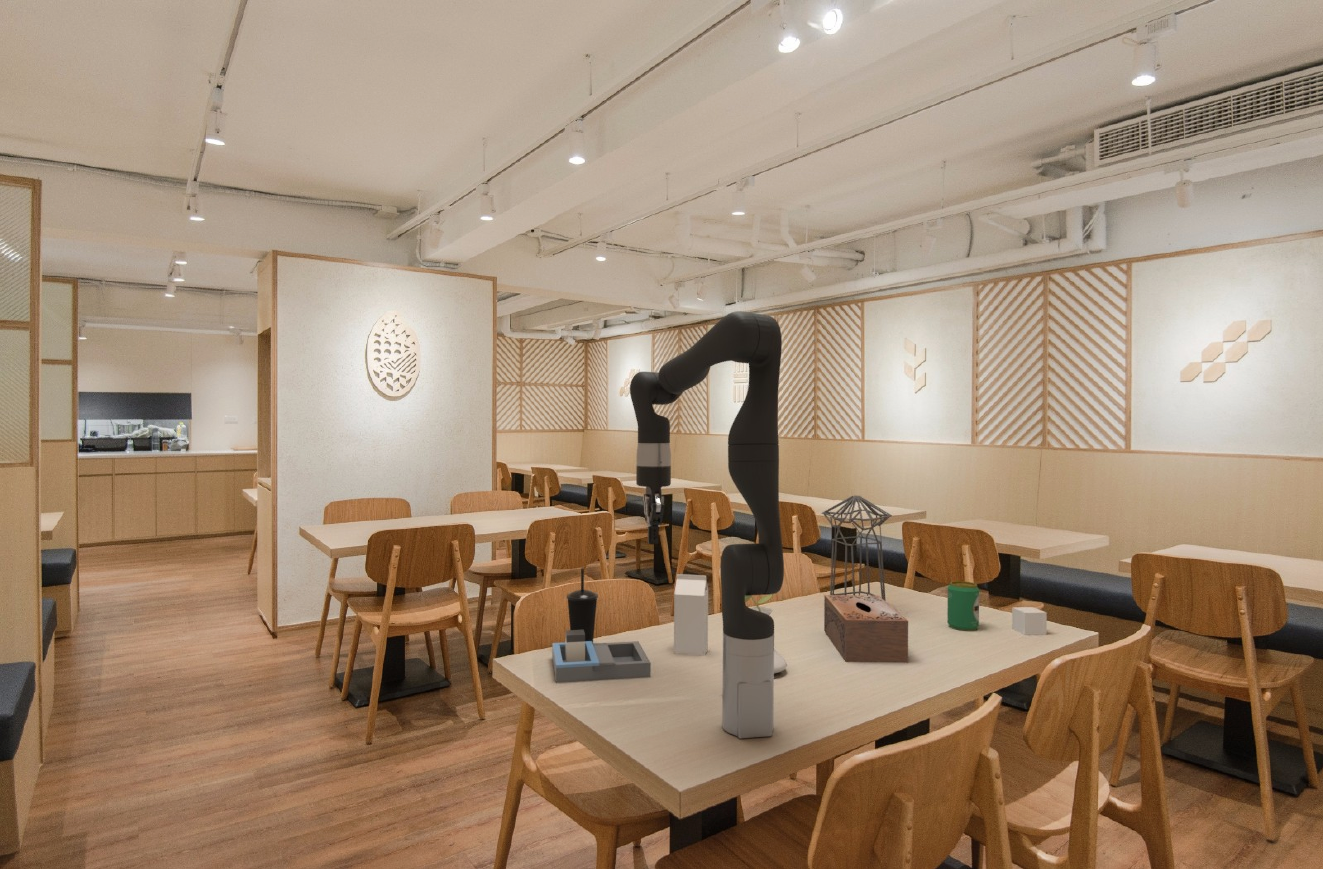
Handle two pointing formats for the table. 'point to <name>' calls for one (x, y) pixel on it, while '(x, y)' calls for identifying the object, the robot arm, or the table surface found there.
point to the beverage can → (963, 606)
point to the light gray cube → (1029, 620)
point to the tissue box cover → (865, 629)
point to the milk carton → (691, 615)
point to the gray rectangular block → (575, 646)
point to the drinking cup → (582, 610)
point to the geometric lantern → (851, 502)
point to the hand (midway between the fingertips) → (653, 543)
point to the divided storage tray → (602, 662)
